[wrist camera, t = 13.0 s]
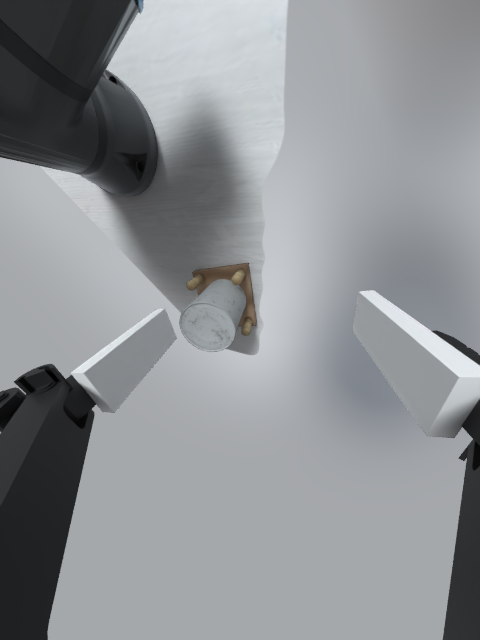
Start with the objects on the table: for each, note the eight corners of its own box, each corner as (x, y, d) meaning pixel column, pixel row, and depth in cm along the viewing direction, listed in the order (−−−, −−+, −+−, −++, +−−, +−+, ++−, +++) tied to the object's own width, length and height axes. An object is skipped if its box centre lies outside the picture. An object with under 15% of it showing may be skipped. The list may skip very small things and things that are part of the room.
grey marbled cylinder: (217, 323, 43) (199, 357, 32) (196, 289, 39) (168, 314, 29) (253, 310, 40) (245, 343, 29) (233, 271, 36) (216, 292, 25)
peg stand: (195, 270, 39) (181, 279, 33) (248, 262, 37) (243, 271, 31) (210, 324, 46) (201, 339, 40) (256, 321, 43) (253, 337, 37)
